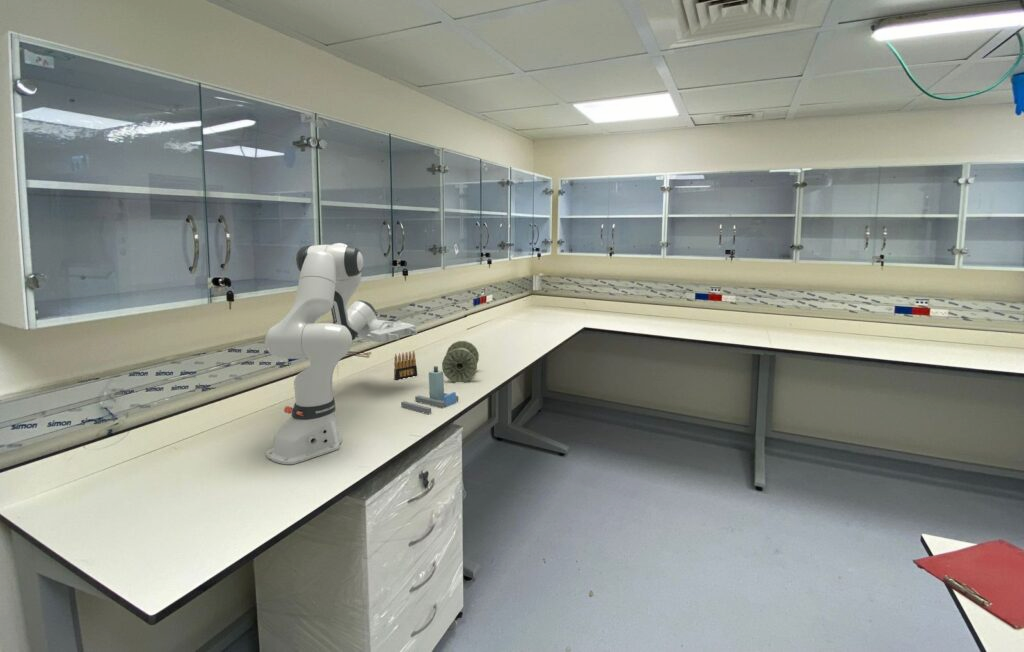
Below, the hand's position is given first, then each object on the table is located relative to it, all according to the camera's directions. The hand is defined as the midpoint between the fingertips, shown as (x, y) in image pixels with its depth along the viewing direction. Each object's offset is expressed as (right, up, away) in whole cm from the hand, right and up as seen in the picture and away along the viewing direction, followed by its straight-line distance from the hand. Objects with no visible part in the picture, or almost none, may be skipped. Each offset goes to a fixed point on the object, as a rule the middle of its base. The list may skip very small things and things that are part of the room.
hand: (407, 334), depth 205 cm
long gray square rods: (+10, -27, -6) cm, 29 cm away
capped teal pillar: (+12, -26, -3) cm, 29 cm away
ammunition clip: (-6, -20, +28) cm, 35 cm away
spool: (+19, -20, +28) cm, 39 cm away
